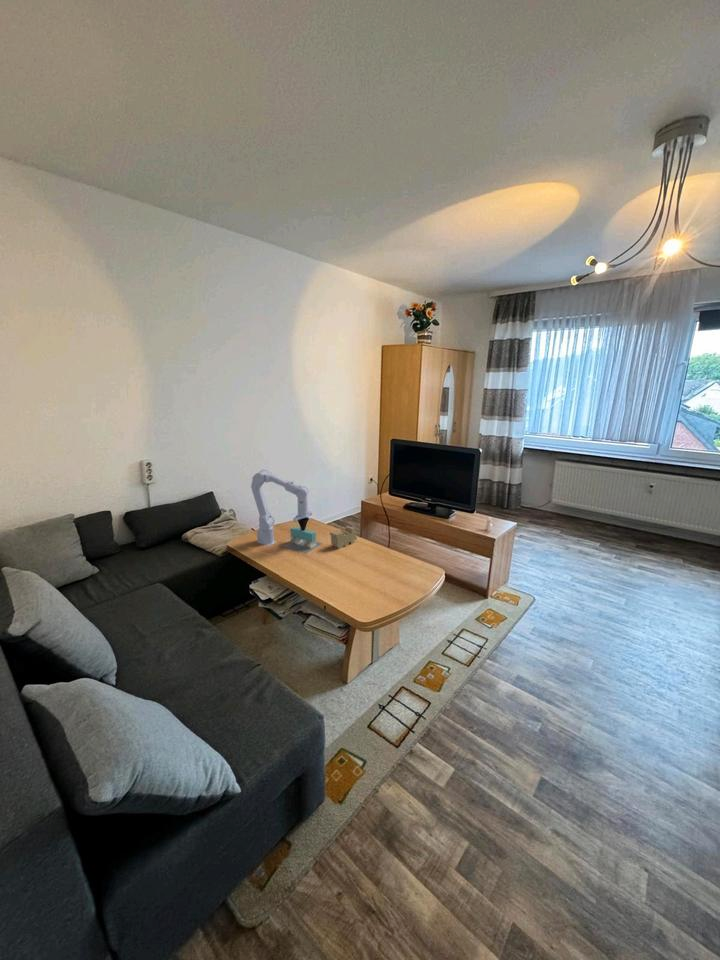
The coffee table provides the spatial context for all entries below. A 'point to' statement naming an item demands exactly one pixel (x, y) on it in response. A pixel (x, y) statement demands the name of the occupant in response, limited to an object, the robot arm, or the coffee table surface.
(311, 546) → the pillar
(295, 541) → the pillar
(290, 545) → the grey flat plate
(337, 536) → the toy train
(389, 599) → the coffee table surface
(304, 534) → the teal beam
